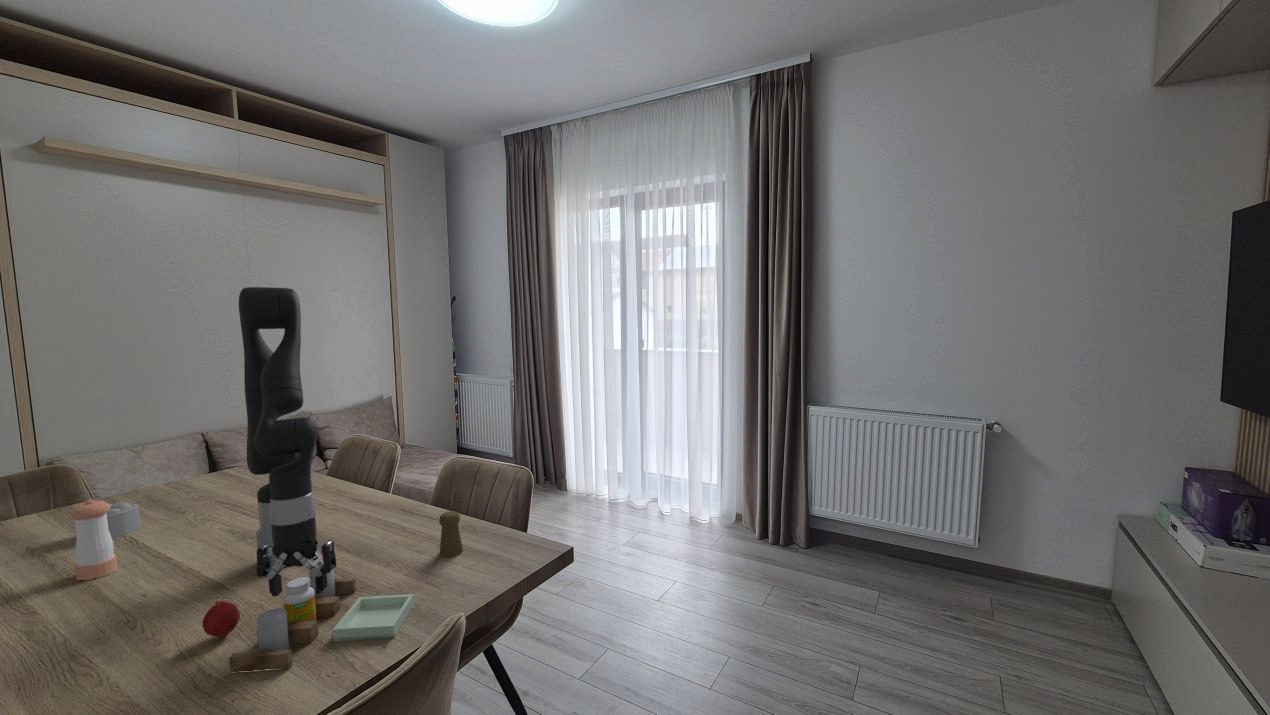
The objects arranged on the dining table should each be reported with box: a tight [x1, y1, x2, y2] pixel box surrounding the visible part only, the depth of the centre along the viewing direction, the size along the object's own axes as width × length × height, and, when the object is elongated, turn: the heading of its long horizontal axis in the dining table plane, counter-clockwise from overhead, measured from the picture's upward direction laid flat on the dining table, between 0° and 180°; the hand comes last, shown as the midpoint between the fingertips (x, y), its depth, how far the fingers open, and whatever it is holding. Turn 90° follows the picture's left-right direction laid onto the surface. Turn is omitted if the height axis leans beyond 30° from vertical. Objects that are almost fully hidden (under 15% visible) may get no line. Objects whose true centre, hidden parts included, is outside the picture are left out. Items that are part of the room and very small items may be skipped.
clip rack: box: [228, 577, 357, 672], centre depth 107 cm, size 10×27×3 cm, turn 4°
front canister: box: [255, 608, 290, 652], centre depth 98 cm, size 5×5×8 cm
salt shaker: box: [69, 499, 118, 581], centre depth 130 cm, size 7×7×19 cm
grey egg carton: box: [106, 501, 142, 539], centre depth 155 cm, size 10×13×9 cm
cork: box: [438, 510, 464, 559], centre depth 139 cm, size 6×6×11 cm
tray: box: [332, 593, 415, 642], centre depth 108 cm, size 12×12×2 cm
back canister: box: [309, 568, 337, 598], centre depth 116 cm, size 5×5×8 cm
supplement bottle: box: [283, 576, 317, 622], centre depth 107 cm, size 5×5×10 cm
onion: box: [201, 599, 241, 639], centre depth 104 cm, size 6×6×8 cm
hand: (299, 593), depth 106 cm, fingers open, 8 cm apart
